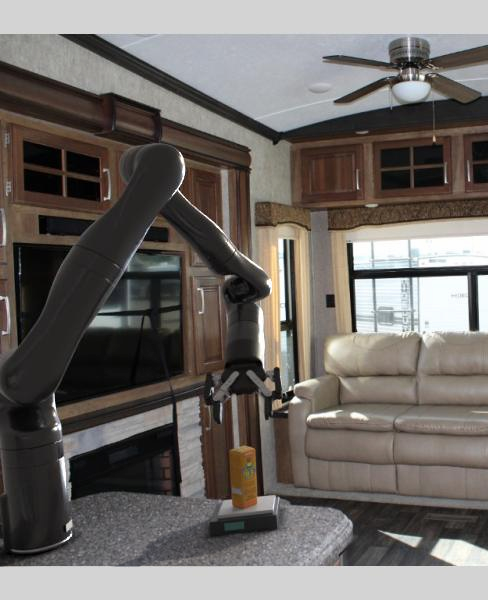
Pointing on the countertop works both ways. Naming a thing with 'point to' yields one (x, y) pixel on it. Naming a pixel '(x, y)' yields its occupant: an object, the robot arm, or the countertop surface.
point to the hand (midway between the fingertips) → (242, 419)
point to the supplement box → (243, 477)
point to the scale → (245, 516)
